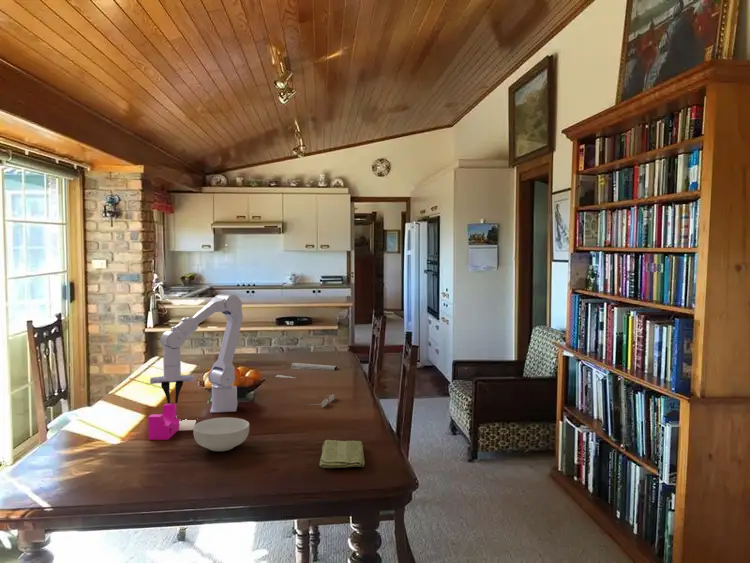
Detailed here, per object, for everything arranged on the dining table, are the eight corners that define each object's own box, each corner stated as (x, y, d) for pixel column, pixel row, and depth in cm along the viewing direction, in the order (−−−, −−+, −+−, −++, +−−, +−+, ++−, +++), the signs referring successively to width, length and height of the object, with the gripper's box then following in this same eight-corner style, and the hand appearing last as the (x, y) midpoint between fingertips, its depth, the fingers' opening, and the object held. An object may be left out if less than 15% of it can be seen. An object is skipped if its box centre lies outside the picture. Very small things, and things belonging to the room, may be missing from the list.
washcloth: (318, 470, 158) (318, 459, 158) (322, 448, 175) (322, 437, 175) (365, 469, 158) (365, 458, 158) (364, 447, 176) (364, 437, 176)
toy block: (168, 439, 181) (167, 416, 181) (148, 439, 181) (148, 416, 181) (183, 424, 196) (183, 403, 196) (165, 424, 196) (165, 403, 196)
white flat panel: (199, 413, 211) (199, 412, 211) (192, 430, 191) (192, 429, 191) (160, 415, 208) (160, 414, 208) (149, 432, 189) (149, 431, 189)
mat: (274, 382, 262) (273, 372, 262) (294, 371, 285) (294, 362, 285) (320, 385, 256) (320, 375, 256) (337, 373, 279) (337, 364, 278)
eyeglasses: (321, 411, 215) (321, 401, 214) (302, 410, 217) (302, 399, 217) (335, 402, 228) (335, 392, 228) (316, 401, 230) (316, 391, 230)
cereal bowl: (219, 461, 163) (219, 437, 163) (181, 450, 172) (181, 427, 172) (260, 444, 178) (260, 422, 177) (223, 434, 186) (223, 413, 186)
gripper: (193, 361, 205) (194, 398, 206) (151, 363, 201) (152, 401, 202) (193, 365, 198) (193, 403, 199) (149, 367, 194) (149, 406, 195)
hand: (172, 402), depth 200 cm, fingers closed
